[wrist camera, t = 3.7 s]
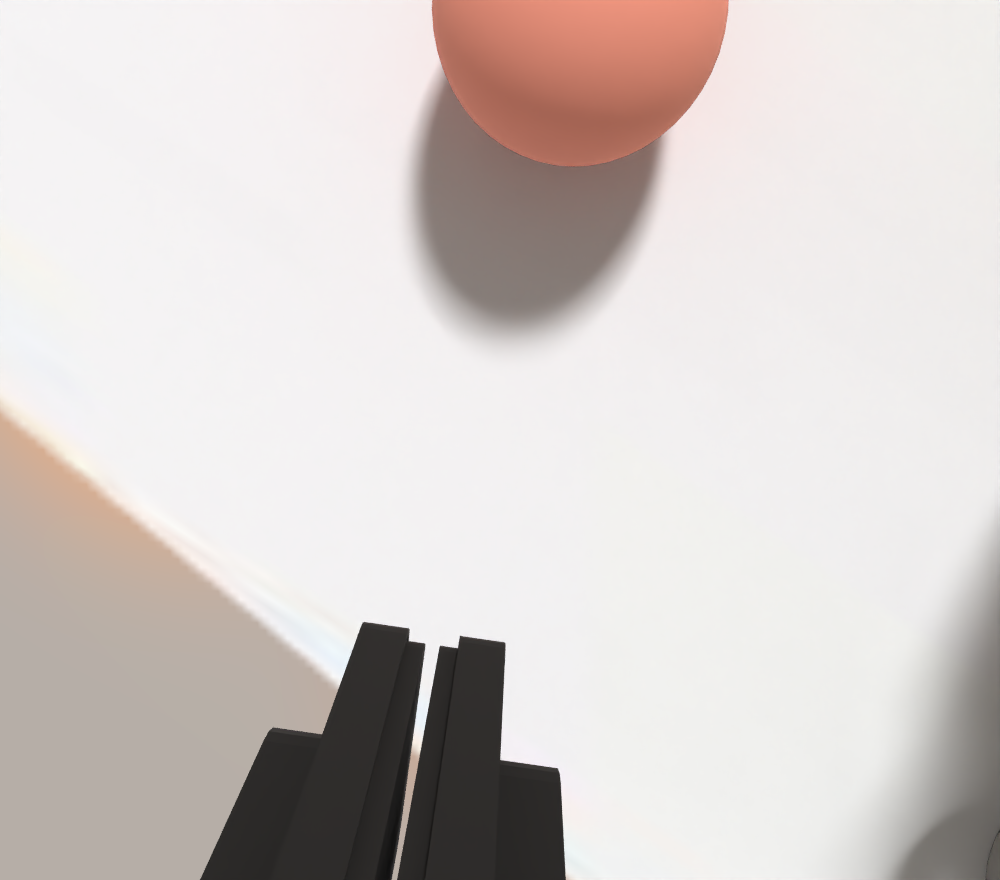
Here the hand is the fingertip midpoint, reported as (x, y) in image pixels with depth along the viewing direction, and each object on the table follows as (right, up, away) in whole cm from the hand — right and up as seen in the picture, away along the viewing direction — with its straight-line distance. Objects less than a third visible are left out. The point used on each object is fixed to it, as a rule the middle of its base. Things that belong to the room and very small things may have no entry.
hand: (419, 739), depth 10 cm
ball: (+3, +12, +7) cm, 15 cm away
